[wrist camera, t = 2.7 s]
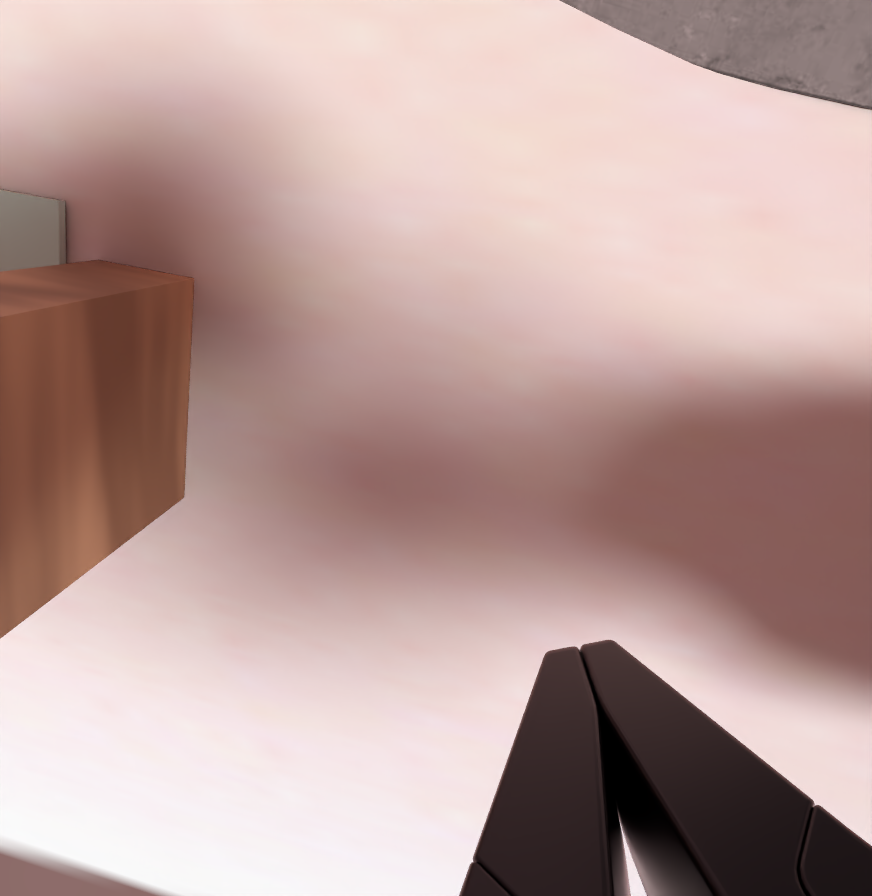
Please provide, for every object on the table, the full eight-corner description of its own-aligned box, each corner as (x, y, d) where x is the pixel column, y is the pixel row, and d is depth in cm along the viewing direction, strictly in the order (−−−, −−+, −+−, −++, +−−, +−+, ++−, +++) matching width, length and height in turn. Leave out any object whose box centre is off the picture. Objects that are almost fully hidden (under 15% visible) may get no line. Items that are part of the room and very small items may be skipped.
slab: (194, 278, 21) (-103, 337, 12) (184, 497, 23) (-70, 691, 14) (98, 259, 21) (-266, 303, 12) (97, 477, 24) (-207, 655, 14)
